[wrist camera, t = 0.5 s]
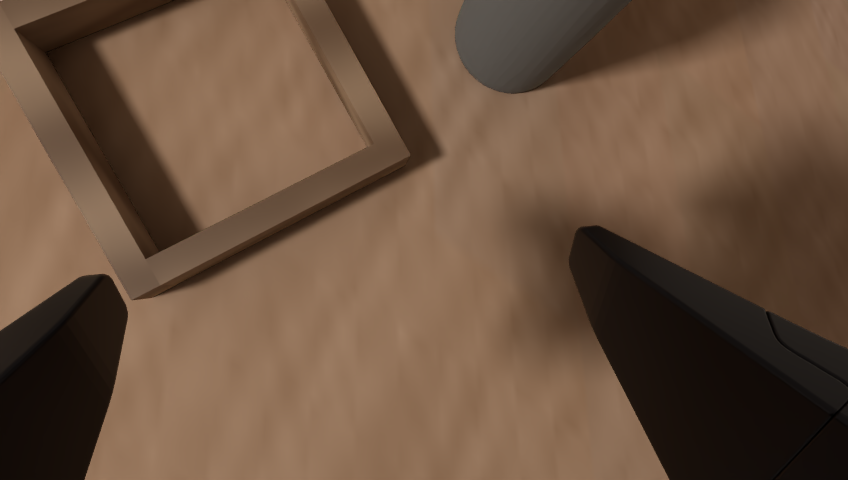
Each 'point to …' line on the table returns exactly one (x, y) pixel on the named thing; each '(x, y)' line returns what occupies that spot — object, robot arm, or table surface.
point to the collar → (98, 185)
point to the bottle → (526, 37)
